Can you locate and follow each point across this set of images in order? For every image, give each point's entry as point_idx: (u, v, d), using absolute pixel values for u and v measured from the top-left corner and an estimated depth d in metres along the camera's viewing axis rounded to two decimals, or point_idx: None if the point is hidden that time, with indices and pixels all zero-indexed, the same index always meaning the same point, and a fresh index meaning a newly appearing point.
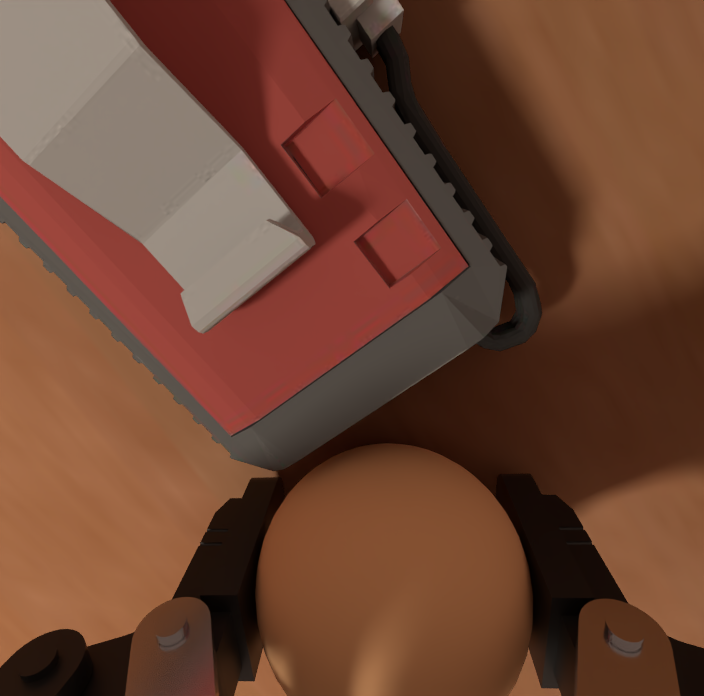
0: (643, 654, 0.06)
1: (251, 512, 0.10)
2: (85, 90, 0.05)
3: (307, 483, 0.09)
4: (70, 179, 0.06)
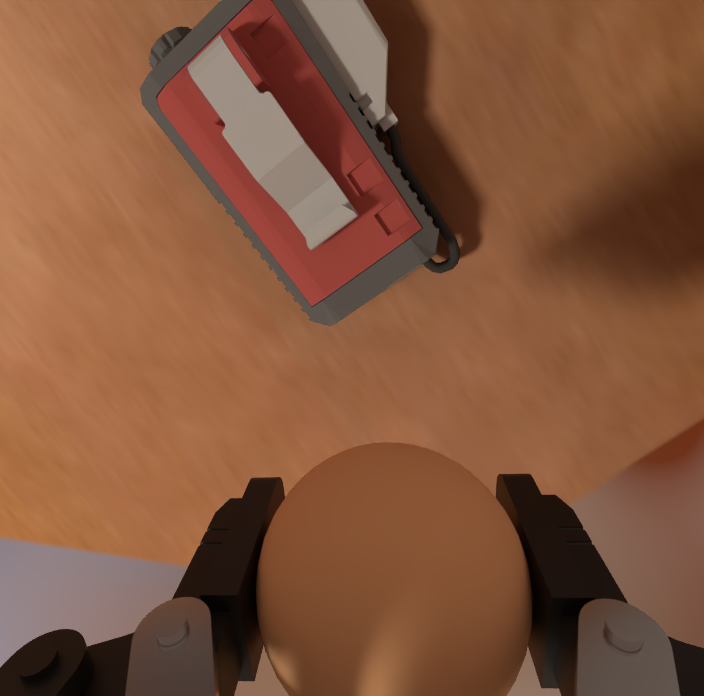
0: (643, 654, 0.06)
1: (251, 512, 0.10)
2: (282, 156, 0.15)
3: (307, 482, 0.09)
4: (269, 186, 0.16)
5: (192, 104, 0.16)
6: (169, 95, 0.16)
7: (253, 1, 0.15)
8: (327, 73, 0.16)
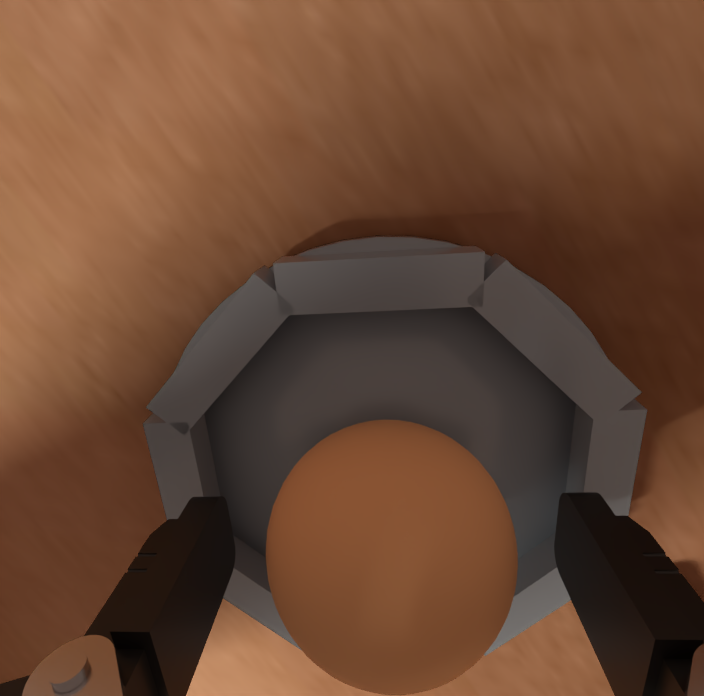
0: None
1: (183, 536, 0.09)
2: None
3: (313, 453, 0.10)
4: None
5: None
6: None
7: None
8: None
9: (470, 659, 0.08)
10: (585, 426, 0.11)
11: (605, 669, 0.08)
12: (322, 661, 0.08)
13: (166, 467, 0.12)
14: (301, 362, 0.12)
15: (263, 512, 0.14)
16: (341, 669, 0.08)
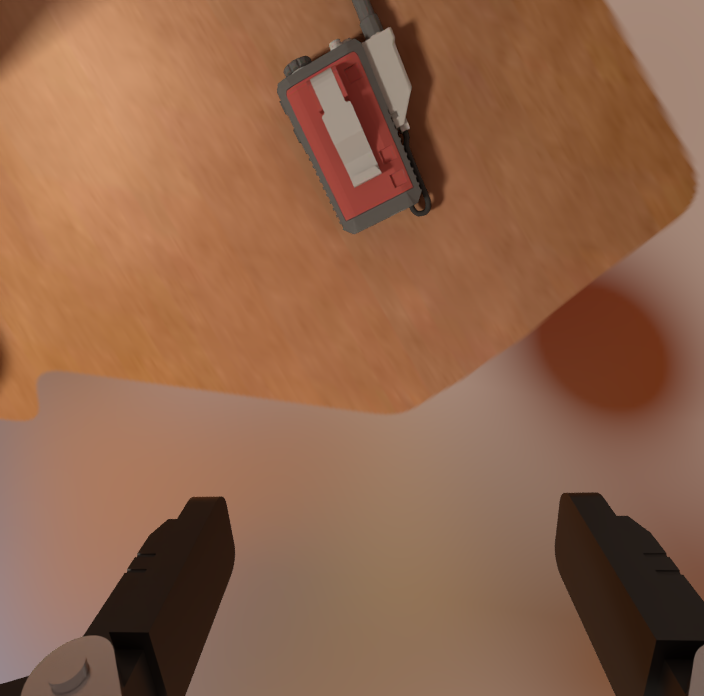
0: None
1: (183, 536, 0.09)
2: (350, 134, 0.30)
3: None
4: (339, 149, 0.30)
5: (305, 98, 0.30)
6: (294, 91, 0.30)
7: (348, 54, 0.29)
8: (378, 97, 0.30)
9: None
10: None
11: (606, 670, 0.08)
12: None
13: None
14: None
15: None
16: None
